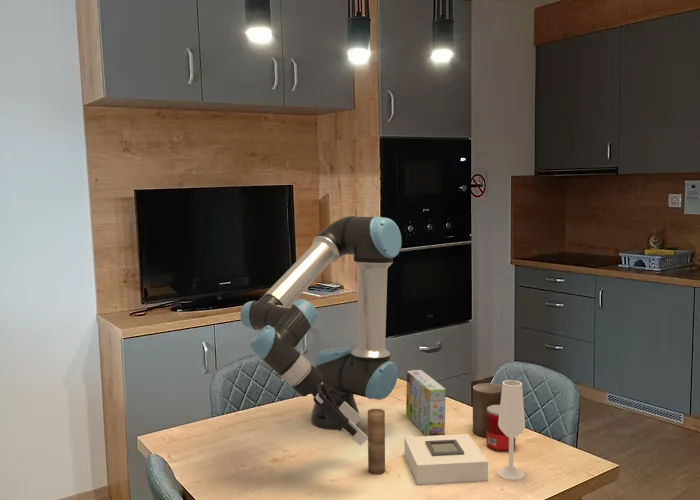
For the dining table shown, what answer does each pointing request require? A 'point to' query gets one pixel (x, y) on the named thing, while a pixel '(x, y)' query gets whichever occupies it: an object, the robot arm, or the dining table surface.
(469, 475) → the socket block
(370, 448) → the peg
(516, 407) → the champagne flute
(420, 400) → the snack box
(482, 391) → the pillar candle
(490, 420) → the canned food
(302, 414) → the dining table surface
